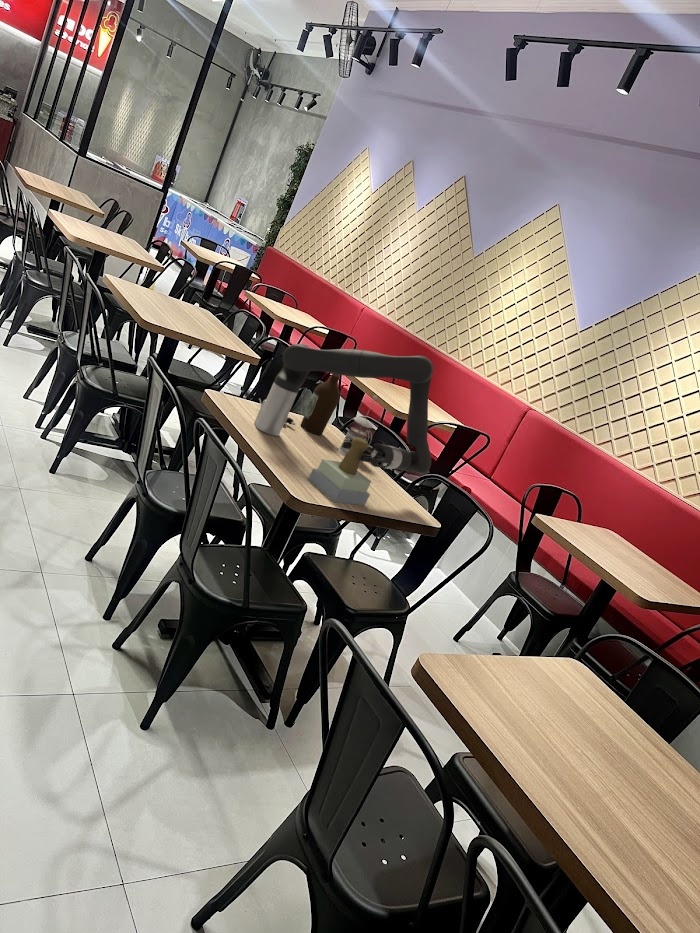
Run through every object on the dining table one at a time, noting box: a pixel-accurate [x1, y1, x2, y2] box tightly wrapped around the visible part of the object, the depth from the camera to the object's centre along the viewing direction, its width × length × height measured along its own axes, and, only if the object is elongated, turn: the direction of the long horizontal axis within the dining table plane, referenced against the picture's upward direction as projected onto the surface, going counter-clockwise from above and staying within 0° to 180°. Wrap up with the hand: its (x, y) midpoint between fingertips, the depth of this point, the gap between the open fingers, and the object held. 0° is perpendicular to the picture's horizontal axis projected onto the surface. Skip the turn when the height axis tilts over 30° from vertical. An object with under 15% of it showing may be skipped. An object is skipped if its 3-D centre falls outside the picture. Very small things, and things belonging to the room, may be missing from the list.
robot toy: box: [258, 398, 296, 426], centre depth 269 cm, size 12×4×15 cm
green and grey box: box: [307, 458, 372, 506], centre depth 219 cm, size 14×14×8 cm
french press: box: [337, 395, 378, 456], centre depth 266 cm, size 10×12×25 cm
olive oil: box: [300, 373, 341, 436], centre depth 274 cm, size 11×11×25 cm
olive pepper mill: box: [339, 437, 369, 475], centre depth 217 cm, size 6×6×11 cm
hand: (352, 450), depth 215 cm, fingers open, 8 cm apart
